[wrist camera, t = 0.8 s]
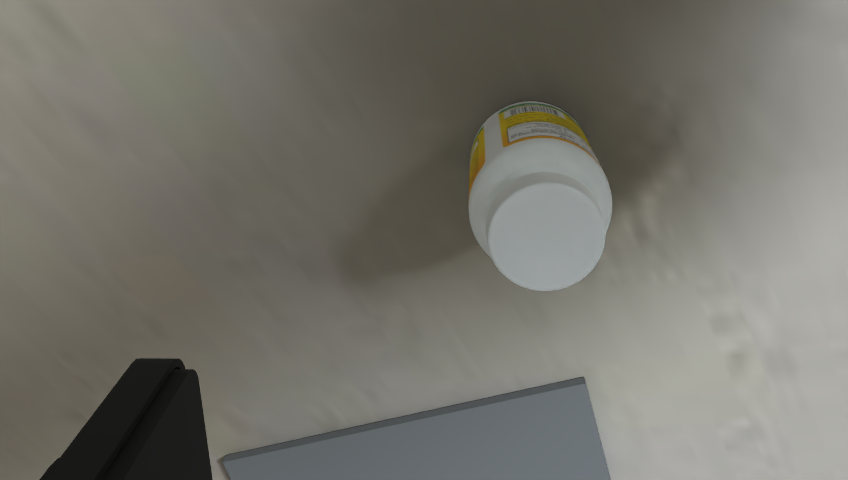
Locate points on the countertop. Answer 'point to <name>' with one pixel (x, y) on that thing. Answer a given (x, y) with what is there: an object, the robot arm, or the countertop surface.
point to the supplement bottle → (538, 196)
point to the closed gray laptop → (450, 444)
